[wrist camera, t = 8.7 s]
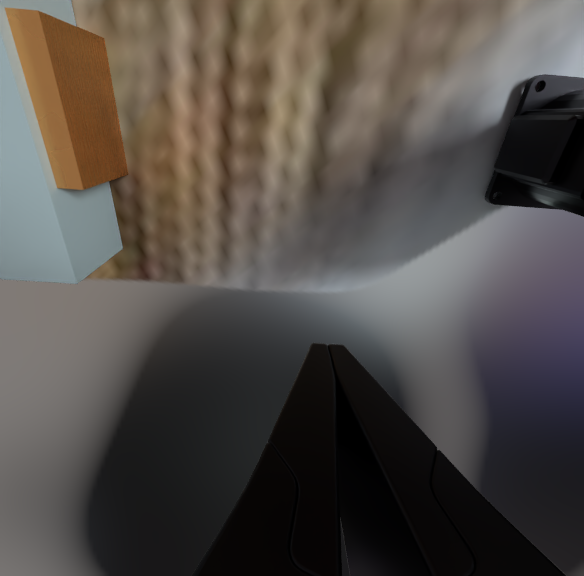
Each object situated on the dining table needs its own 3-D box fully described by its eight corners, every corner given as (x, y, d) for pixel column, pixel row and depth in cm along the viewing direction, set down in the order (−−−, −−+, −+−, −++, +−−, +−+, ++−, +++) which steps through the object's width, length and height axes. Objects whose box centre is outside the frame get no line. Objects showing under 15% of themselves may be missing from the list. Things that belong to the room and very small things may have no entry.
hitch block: (47, -112, 13) (-81, -232, 8) (122, 248, 20) (77, 284, 16) (-53, -123, 13) (-237, -251, 8) (61, 244, 20) (-2, 279, 16)
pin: (104, 38, 15) (38, 10, 11) (128, 174, 18) (83, 190, 14) (-48, 24, 15) (-169, -9, 11) (3, 165, 18) (-77, 178, 14)
